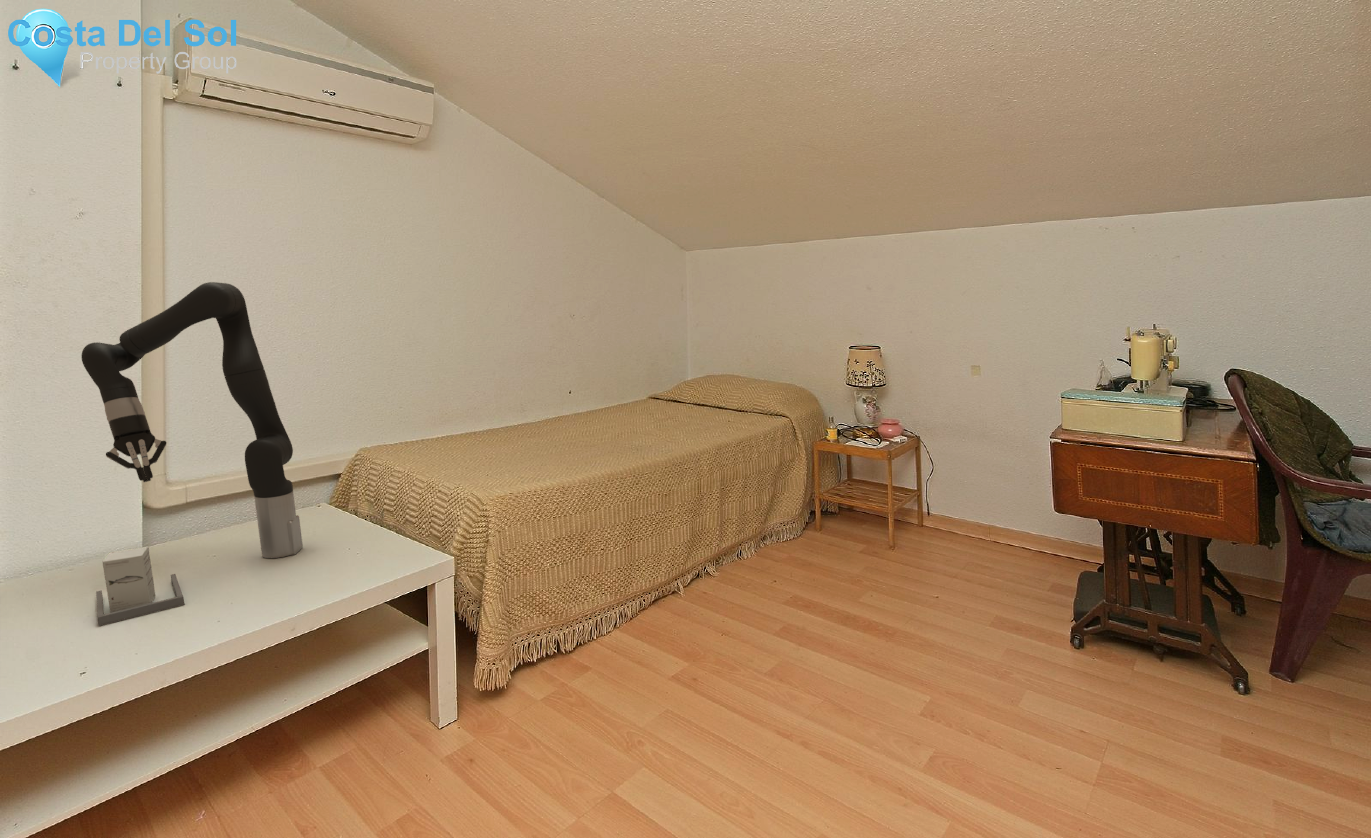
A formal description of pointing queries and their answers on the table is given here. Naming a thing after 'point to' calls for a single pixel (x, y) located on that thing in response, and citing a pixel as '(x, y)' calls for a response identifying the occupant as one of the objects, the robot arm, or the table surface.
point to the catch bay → (138, 610)
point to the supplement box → (128, 578)
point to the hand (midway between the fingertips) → (147, 481)
